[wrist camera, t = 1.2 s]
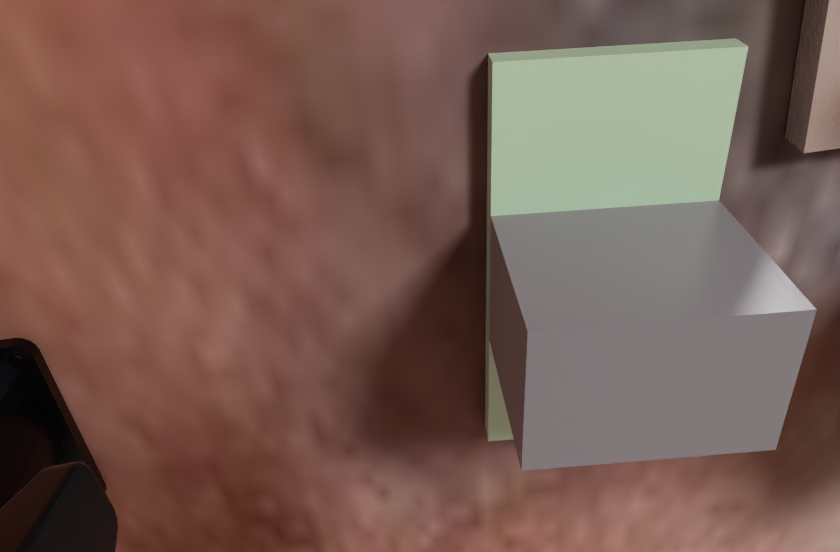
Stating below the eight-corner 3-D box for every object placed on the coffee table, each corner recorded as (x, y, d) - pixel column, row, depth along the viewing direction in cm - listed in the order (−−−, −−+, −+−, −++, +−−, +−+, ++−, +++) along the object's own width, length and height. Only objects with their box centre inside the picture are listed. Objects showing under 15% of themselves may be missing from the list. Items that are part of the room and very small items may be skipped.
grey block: (664, 404, 25) (743, 559, 20) (483, 419, 25) (516, 579, 20) (730, 35, 19) (870, 124, 13) (486, 50, 18) (535, 146, 13)
